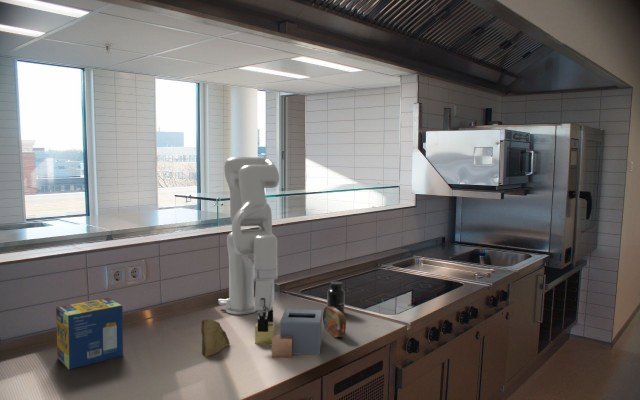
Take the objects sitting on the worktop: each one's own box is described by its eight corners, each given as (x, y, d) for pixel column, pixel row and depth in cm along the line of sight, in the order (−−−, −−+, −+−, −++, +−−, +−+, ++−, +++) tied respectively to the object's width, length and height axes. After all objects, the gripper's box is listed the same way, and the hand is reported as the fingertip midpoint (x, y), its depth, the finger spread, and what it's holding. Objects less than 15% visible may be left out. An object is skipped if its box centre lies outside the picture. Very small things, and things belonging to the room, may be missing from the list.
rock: (225, 332, 156) (195, 333, 151) (233, 316, 151) (202, 317, 146) (231, 362, 149) (200, 364, 144) (240, 346, 144) (208, 347, 139)
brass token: (273, 344, 153) (273, 326, 152) (255, 343, 153) (255, 325, 152) (274, 341, 155) (275, 323, 155) (256, 341, 155) (256, 323, 155)
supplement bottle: (343, 316, 182) (343, 285, 181) (325, 315, 183) (325, 284, 182) (345, 311, 188) (346, 281, 187) (328, 309, 190) (329, 280, 189)
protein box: (56, 359, 139) (55, 306, 138) (110, 345, 150) (109, 297, 149) (68, 370, 132) (67, 315, 130) (124, 355, 142) (123, 304, 141)
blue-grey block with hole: (280, 353, 146) (280, 320, 145) (285, 338, 158) (285, 309, 157) (319, 354, 145) (319, 322, 144) (321, 340, 157) (321, 310, 156)
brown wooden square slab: (291, 358, 142) (291, 339, 141) (271, 358, 142) (271, 338, 142) (292, 355, 144) (292, 336, 144) (272, 354, 145) (273, 335, 144)
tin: (322, 326, 170) (322, 303, 170) (330, 325, 171) (330, 302, 171) (338, 341, 156) (338, 316, 156) (347, 340, 157) (347, 315, 157)
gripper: (258, 268, 161) (259, 318, 162) (248, 279, 144) (248, 335, 145) (281, 268, 161) (281, 318, 161) (273, 279, 143) (273, 335, 144)
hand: (265, 326), depth 153 cm, fingers open, 9 cm apart
